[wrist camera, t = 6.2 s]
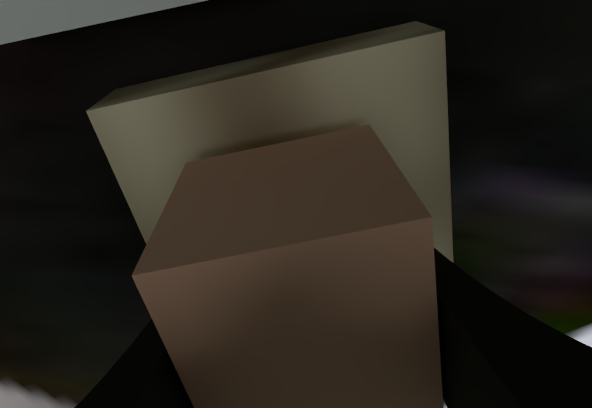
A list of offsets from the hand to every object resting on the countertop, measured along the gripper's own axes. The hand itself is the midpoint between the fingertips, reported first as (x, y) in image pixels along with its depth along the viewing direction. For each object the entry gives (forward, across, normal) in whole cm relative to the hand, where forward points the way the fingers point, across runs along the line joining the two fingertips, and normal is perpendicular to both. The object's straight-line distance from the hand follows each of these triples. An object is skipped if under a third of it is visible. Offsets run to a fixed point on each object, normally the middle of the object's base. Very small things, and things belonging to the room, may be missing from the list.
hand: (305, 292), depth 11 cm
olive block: (+6, 0, 0) cm, 6 cm away
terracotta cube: (+2, 0, -1) cm, 2 cm away
